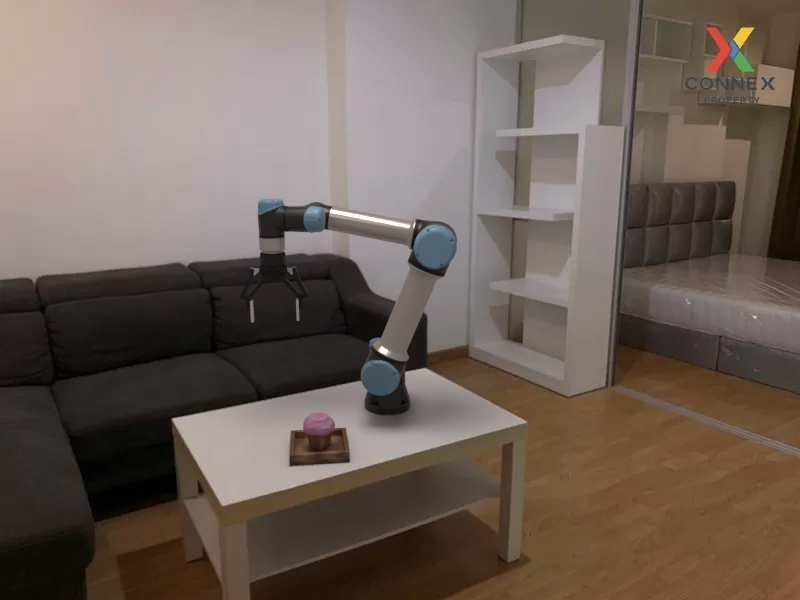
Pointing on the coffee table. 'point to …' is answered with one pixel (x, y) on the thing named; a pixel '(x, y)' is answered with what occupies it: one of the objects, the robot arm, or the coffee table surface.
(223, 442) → the coffee table surface
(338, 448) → the serving tray
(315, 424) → the cupcake
